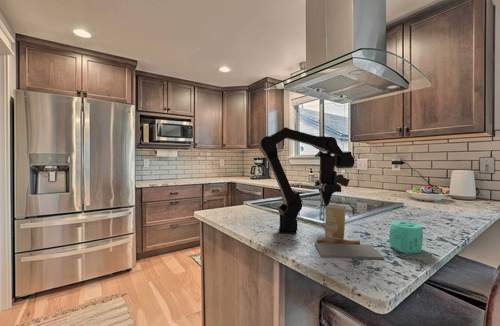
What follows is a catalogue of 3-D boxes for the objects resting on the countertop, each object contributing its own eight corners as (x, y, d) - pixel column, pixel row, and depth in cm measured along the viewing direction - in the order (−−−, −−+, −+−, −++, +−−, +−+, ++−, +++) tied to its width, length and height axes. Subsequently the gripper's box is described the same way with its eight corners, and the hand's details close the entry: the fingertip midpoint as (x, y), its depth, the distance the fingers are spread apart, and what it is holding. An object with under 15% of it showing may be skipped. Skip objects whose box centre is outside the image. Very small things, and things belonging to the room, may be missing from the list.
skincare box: (324, 240, 85) (324, 206, 84) (326, 237, 89) (327, 204, 88) (343, 243, 82) (344, 208, 81) (345, 239, 86) (345, 206, 85)
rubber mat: (321, 257, 71) (321, 255, 71) (314, 244, 81) (314, 242, 81) (384, 259, 69) (384, 257, 69) (369, 246, 79) (369, 244, 79)
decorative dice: (388, 249, 77) (389, 224, 77) (394, 242, 83) (395, 219, 83) (418, 256, 72) (419, 230, 72) (422, 248, 78) (423, 224, 78)
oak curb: (317, 244, 81) (317, 239, 81) (316, 243, 82) (316, 238, 82) (359, 245, 80) (360, 241, 80) (358, 244, 81) (358, 239, 81)
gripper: (356, 169, 87) (355, 212, 87) (340, 167, 106) (339, 202, 106) (325, 169, 88) (324, 211, 88) (314, 167, 106) (314, 201, 107)
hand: (326, 206), depth 97 cm, fingers closed
